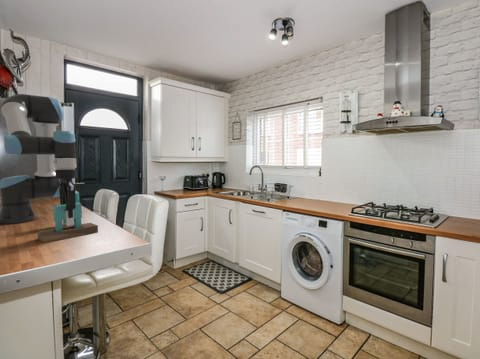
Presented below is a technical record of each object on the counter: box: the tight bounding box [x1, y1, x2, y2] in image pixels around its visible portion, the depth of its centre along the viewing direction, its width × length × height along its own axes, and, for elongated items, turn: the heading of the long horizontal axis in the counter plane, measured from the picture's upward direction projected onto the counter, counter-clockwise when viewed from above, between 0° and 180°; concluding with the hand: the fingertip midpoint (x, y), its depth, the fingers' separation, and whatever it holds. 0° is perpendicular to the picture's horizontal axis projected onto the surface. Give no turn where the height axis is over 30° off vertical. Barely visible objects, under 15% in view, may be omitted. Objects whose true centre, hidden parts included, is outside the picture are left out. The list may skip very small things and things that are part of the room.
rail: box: [36, 222, 99, 244], centre depth 114 cm, size 8×20×3 cm, turn 140°
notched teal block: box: [52, 202, 83, 232], centre depth 113 cm, size 3×9×12 cm, turn 140°
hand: (68, 224), depth 114 cm, fingers closed on notched teal block, 3 cm apart
